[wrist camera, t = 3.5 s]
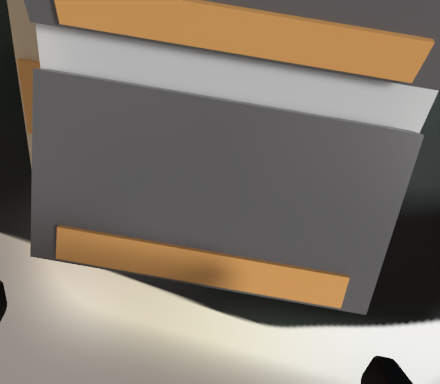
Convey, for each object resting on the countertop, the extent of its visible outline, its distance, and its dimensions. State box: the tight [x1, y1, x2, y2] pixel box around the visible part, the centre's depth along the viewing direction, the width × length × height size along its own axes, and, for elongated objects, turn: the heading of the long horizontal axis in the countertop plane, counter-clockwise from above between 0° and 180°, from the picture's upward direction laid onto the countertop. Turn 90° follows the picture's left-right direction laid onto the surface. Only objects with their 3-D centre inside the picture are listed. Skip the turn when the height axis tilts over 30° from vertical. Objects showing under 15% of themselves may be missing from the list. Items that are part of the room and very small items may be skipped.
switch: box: [31, 69, 424, 315], centre depth 13 cm, size 12×6×1 cm, turn 82°
